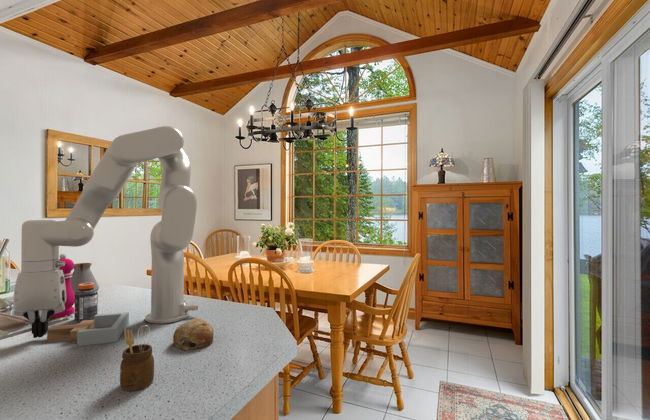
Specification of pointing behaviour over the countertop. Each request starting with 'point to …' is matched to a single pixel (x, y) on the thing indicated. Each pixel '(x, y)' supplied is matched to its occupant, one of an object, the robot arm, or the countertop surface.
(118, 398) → the countertop surface
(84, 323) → the T block
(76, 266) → the coffee pot
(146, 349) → the utensil holder
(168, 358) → the countertop surface
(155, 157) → the robot arm
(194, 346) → the bread roll
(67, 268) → the pepper mill
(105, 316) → the pocket
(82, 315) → the pill bottle
